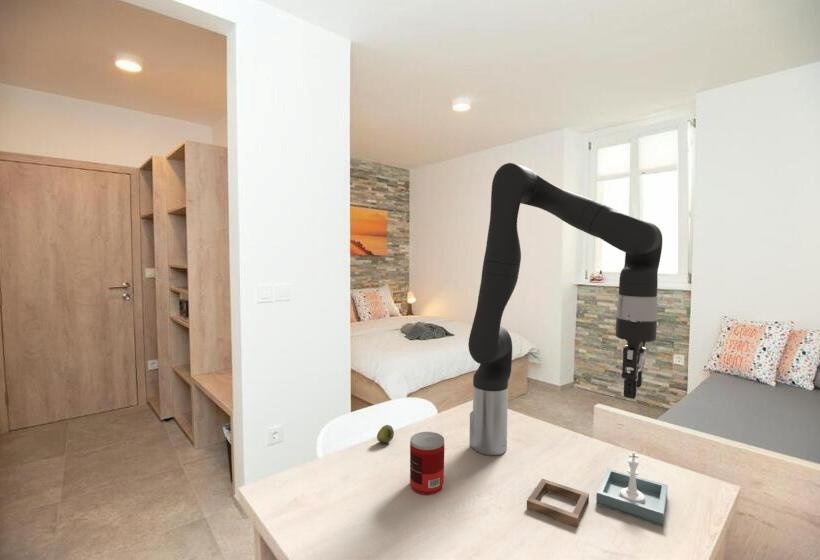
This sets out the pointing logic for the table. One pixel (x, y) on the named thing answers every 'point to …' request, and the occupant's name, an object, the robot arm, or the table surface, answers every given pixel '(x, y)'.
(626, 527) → the table surface
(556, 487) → the collar
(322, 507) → the table surface
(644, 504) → the tray
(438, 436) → the canned food
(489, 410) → the robot arm
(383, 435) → the lime
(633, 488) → the chess piece
